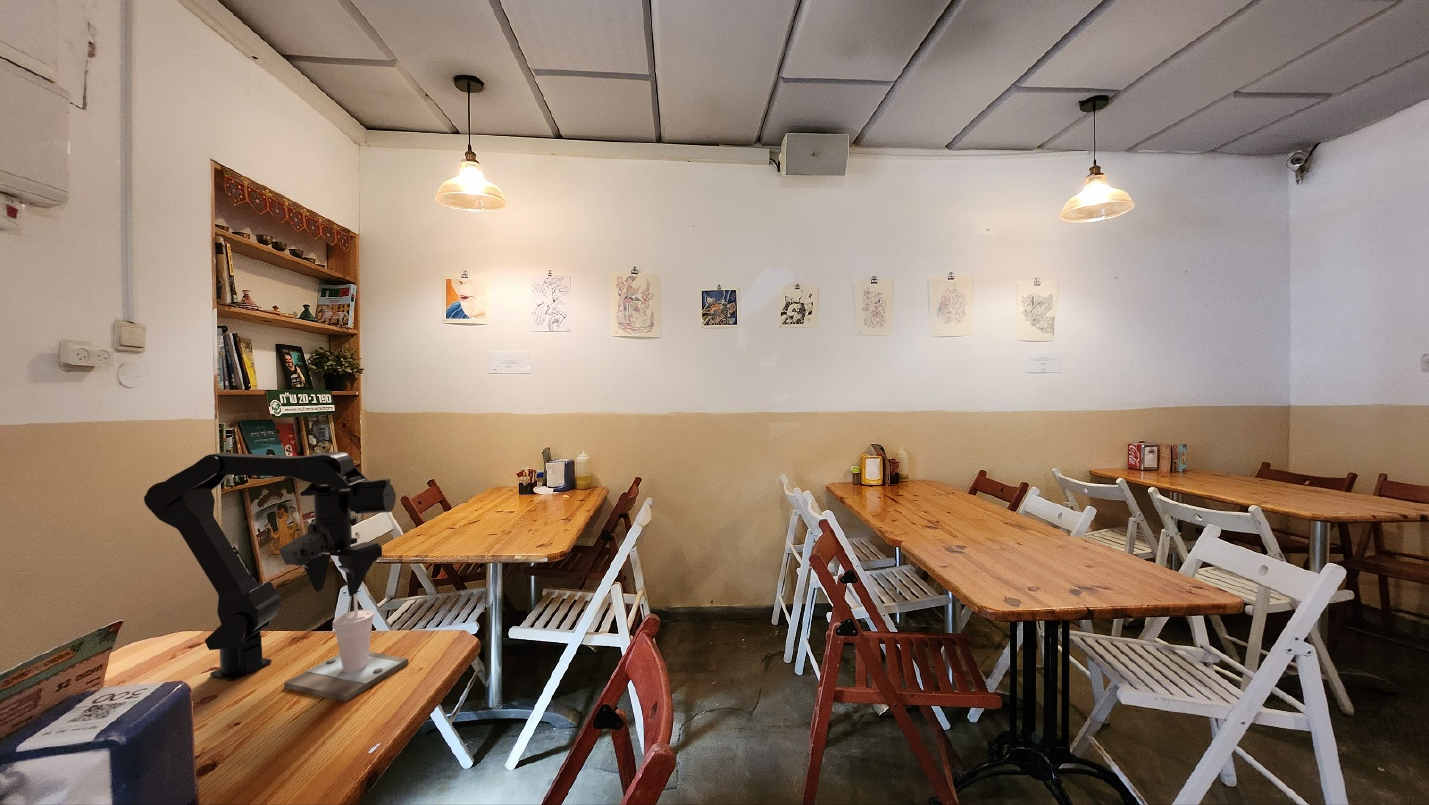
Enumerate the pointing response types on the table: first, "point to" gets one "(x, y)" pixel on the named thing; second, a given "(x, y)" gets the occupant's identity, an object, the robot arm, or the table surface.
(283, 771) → the table surface
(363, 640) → the smoothie
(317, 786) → the table surface
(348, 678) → the gray and brown board
